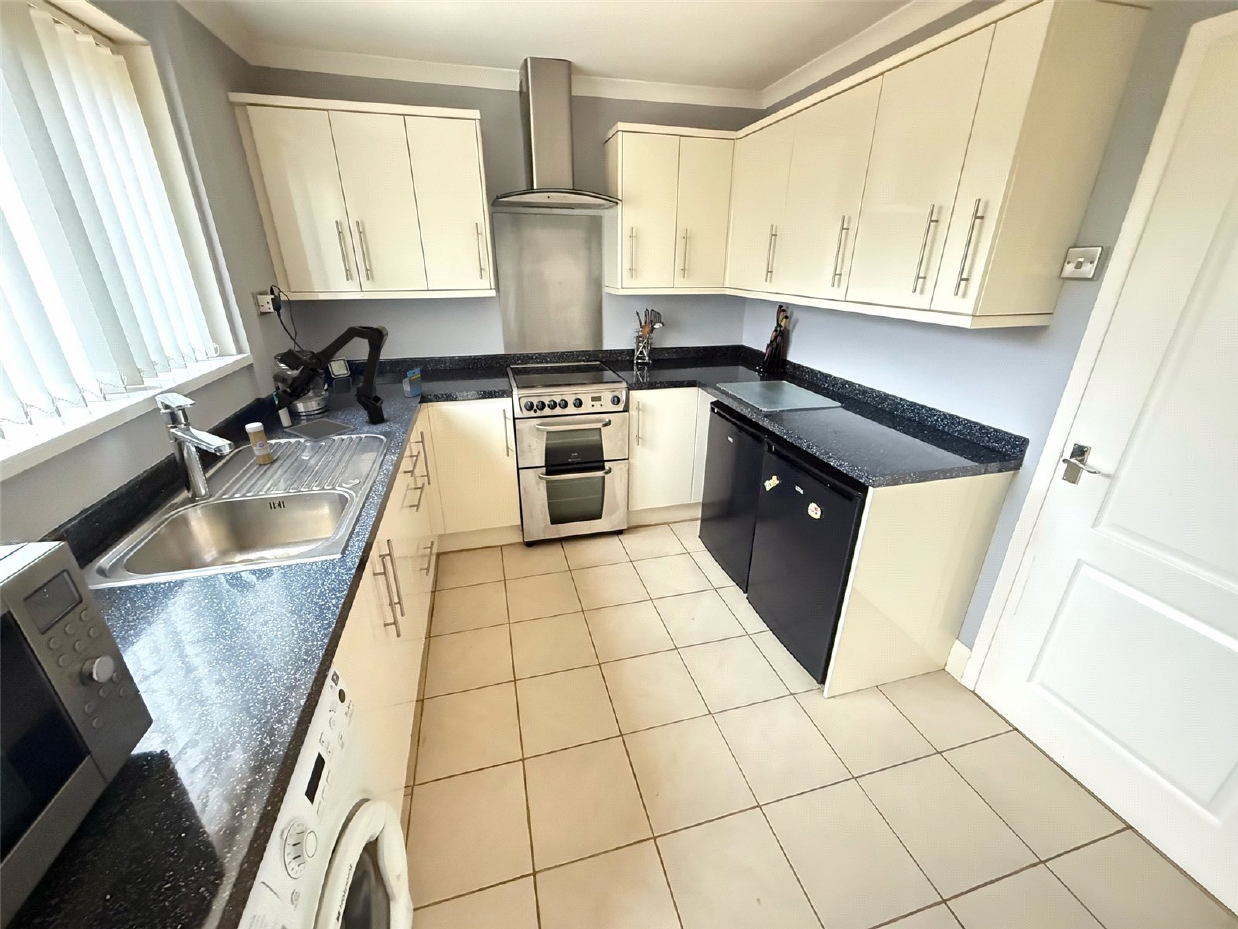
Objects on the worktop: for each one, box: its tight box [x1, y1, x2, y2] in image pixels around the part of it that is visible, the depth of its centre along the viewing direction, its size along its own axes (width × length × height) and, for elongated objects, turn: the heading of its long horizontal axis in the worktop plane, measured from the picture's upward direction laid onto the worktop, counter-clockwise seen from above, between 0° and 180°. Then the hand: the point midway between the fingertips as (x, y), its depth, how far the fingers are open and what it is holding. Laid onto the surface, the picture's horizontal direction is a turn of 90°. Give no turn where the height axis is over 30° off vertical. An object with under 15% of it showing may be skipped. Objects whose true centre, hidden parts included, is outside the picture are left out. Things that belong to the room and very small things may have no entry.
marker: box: [272, 391, 293, 429], centre depth 195 cm, size 3×3×14 cm
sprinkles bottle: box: [245, 422, 274, 465], centre depth 162 cm, size 5×5×13 cm
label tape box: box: [402, 367, 424, 398], centre depth 236 cm, size 9×4×12 cm, turn 164°
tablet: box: [283, 418, 357, 443], centre depth 193 cm, size 22×16×1 cm
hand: (281, 407), depth 194 cm, fingers open, 9 cm apart
